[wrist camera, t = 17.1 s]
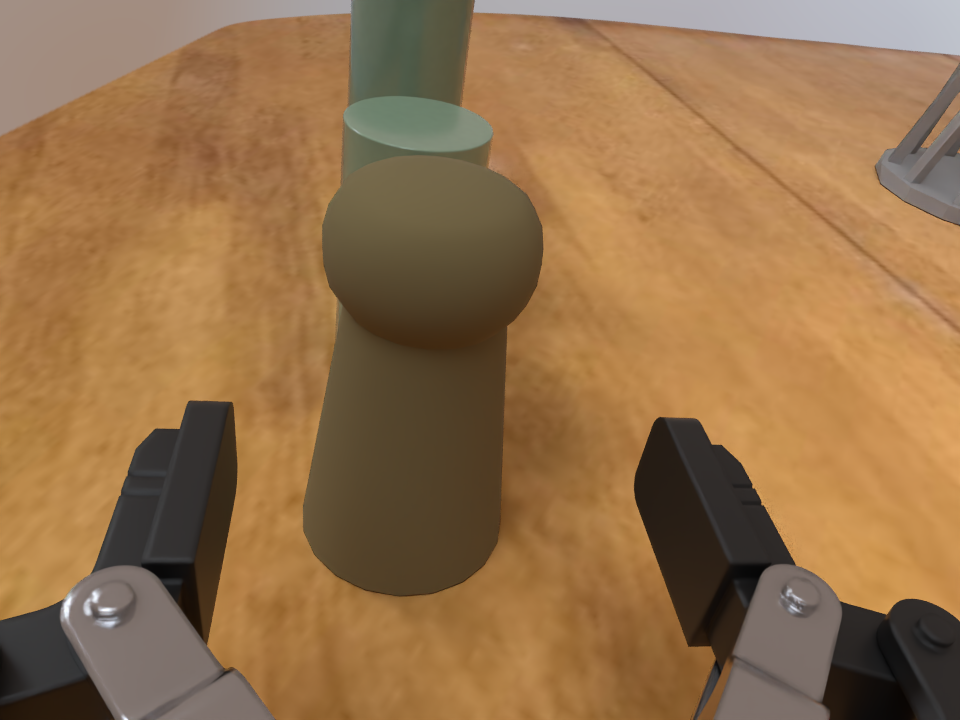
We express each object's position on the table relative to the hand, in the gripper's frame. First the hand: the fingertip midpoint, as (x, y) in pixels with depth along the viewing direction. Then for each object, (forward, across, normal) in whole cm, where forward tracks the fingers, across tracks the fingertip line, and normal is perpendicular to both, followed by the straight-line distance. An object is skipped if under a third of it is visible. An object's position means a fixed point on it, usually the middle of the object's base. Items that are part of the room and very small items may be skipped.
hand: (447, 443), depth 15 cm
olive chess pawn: (+5, 0, +8) cm, 10 cm away
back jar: (+24, 0, +8) cm, 25 cm away
